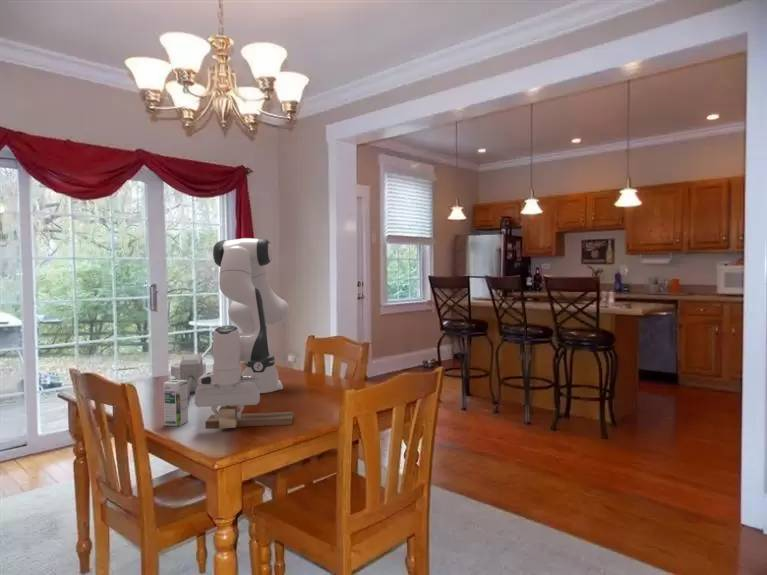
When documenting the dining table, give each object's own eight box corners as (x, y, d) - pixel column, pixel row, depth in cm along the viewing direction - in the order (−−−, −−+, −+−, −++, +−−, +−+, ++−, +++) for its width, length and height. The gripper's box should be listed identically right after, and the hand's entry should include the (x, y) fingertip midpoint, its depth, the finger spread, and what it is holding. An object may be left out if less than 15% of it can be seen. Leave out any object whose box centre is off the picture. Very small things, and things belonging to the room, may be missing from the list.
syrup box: (163, 425, 174) (162, 382, 173) (173, 420, 179) (172, 378, 179) (179, 426, 173) (178, 383, 172) (188, 421, 178) (187, 379, 178)
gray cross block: (184, 376, 251) (184, 359, 250) (212, 377, 247) (212, 361, 246) (163, 383, 236) (163, 365, 236) (193, 385, 232) (192, 367, 232)
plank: (211, 420, 179) (211, 414, 179) (293, 417, 182) (293, 411, 182) (205, 427, 171) (205, 421, 171) (291, 424, 174) (291, 418, 174)
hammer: (192, 386, 193) (201, 352, 221) (170, 387, 191) (182, 353, 219) (195, 421, 197) (203, 384, 225) (173, 423, 196) (184, 386, 224)
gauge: (227, 416, 179) (226, 397, 179) (241, 416, 180) (241, 396, 179) (219, 428, 167) (218, 407, 166) (235, 427, 167) (234, 406, 167)
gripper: (261, 373, 172) (262, 414, 173) (197, 375, 170) (198, 417, 171) (258, 377, 166) (259, 420, 167) (192, 379, 164) (193, 423, 165)
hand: (228, 418), depth 169 cm, fingers closed on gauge, 5 cm apart
